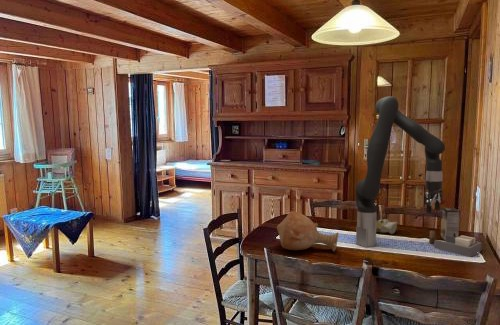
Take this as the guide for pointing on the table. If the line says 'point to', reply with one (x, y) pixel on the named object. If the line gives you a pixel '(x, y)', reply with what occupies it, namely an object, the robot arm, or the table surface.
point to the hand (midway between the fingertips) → (433, 211)
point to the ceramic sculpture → (386, 226)
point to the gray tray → (457, 246)
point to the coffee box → (449, 222)
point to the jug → (302, 233)
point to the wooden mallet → (456, 240)
